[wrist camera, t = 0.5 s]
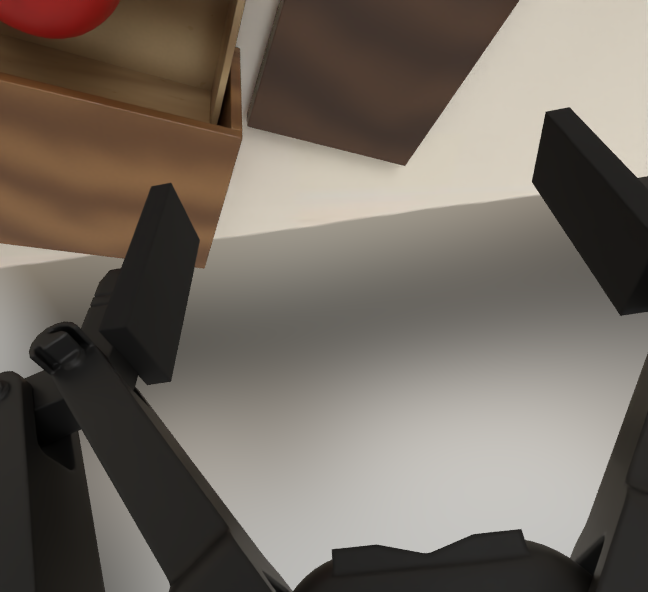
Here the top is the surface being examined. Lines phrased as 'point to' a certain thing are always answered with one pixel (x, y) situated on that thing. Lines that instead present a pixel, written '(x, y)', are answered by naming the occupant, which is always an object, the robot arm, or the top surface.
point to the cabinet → (107, 165)
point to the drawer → (139, 55)
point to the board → (369, 70)
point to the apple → (56, 16)
